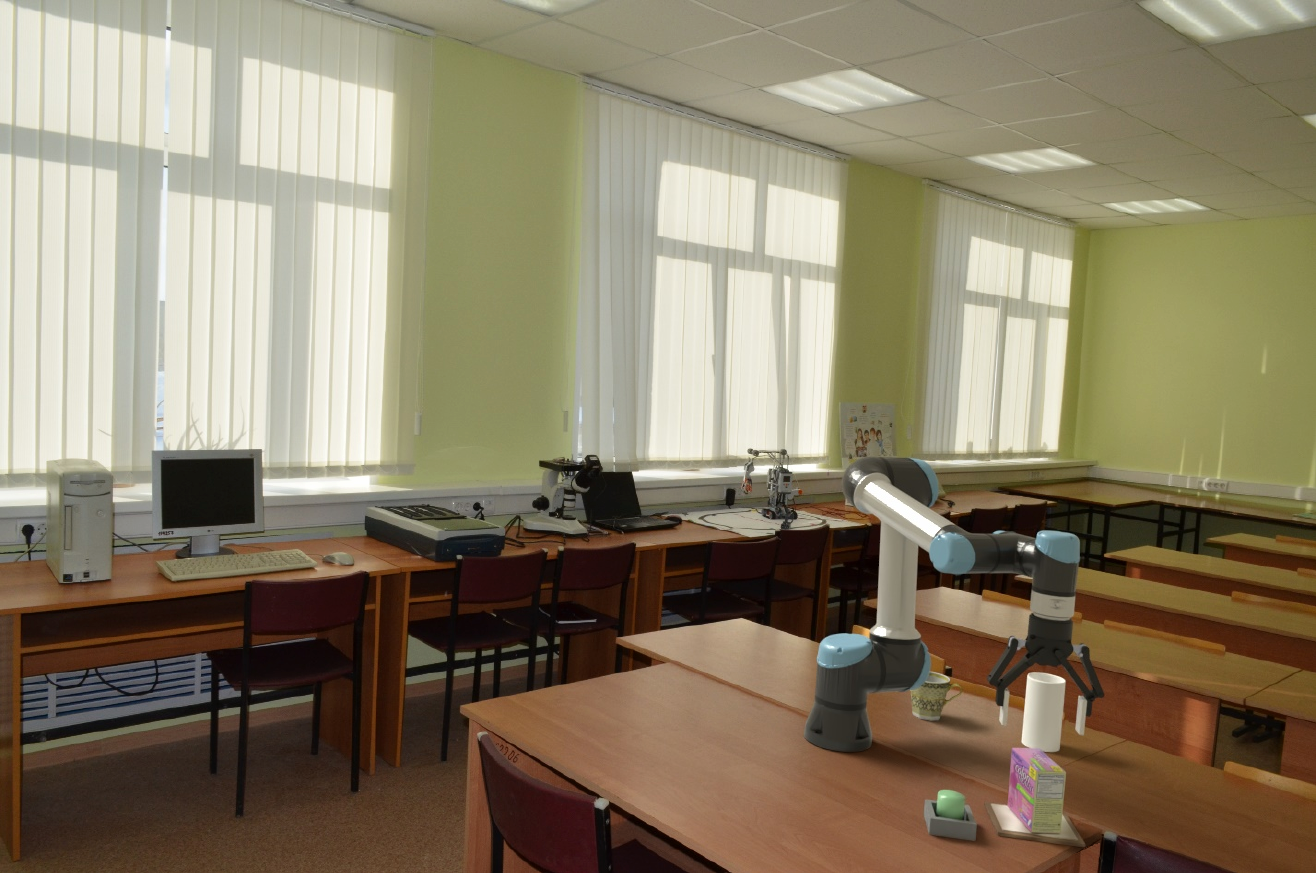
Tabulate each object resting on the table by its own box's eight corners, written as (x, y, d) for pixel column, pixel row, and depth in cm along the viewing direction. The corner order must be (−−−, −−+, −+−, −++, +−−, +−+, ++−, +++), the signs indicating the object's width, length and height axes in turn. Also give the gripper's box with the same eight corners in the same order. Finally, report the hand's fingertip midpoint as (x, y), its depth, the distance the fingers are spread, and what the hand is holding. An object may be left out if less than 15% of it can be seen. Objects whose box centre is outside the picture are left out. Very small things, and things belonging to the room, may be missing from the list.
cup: (1063, 754, 210) (1069, 685, 209) (1025, 749, 212) (1031, 680, 211) (1055, 741, 218) (1061, 675, 217) (1018, 736, 220) (1024, 670, 219)
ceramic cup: (903, 718, 227) (906, 678, 227) (908, 706, 236) (911, 668, 236) (958, 728, 222) (961, 687, 222) (961, 716, 232) (964, 677, 231)
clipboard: (997, 835, 167) (998, 829, 167) (984, 804, 180) (984, 799, 180) (1085, 847, 165) (1085, 841, 165) (1065, 815, 178) (1065, 809, 178)
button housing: (929, 834, 166) (930, 818, 166) (923, 814, 174) (925, 799, 173) (975, 841, 164) (976, 824, 164) (967, 820, 172) (969, 805, 172)
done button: (937, 823, 167) (939, 799, 167) (934, 812, 172) (936, 788, 171) (965, 827, 166) (967, 803, 166) (960, 815, 171) (963, 791, 171)
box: (1005, 806, 177) (1011, 746, 176) (1034, 807, 178) (1040, 748, 177) (1030, 833, 167) (1036, 770, 166) (1060, 835, 167) (1067, 772, 166)
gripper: (985, 612, 169) (974, 726, 170) (1130, 627, 165) (1118, 744, 166) (977, 603, 176) (967, 712, 177) (1116, 618, 172) (1105, 729, 173)
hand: (1040, 728), depth 171 cm, fingers open, 13 cm apart
